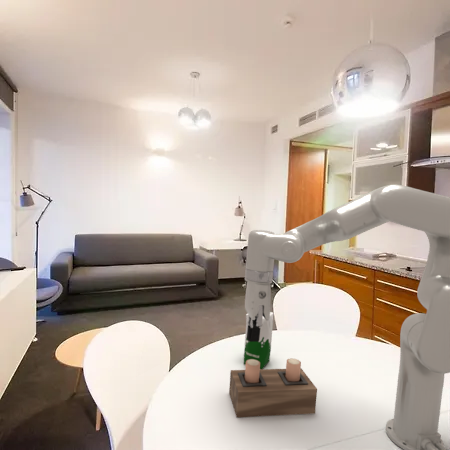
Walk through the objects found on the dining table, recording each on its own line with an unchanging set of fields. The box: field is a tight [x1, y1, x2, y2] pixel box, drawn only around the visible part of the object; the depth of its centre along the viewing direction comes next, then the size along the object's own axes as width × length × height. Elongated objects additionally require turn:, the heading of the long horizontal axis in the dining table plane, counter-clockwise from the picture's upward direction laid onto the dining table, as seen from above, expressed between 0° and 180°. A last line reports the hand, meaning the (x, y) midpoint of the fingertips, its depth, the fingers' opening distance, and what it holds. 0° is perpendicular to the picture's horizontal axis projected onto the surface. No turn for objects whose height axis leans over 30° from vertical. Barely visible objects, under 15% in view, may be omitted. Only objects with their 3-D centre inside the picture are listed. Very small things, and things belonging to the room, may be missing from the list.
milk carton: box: [243, 311, 275, 369], centre depth 116 cm, size 9×9×20 cm
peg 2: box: [285, 357, 302, 382], centre depth 94 cm, size 4×4×7 cm
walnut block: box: [228, 368, 318, 418], centre depth 94 cm, size 11×22×7 cm, turn 100°
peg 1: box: [244, 359, 260, 383], centre depth 92 cm, size 4×4×7 cm
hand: (252, 340), depth 92 cm, fingers closed
